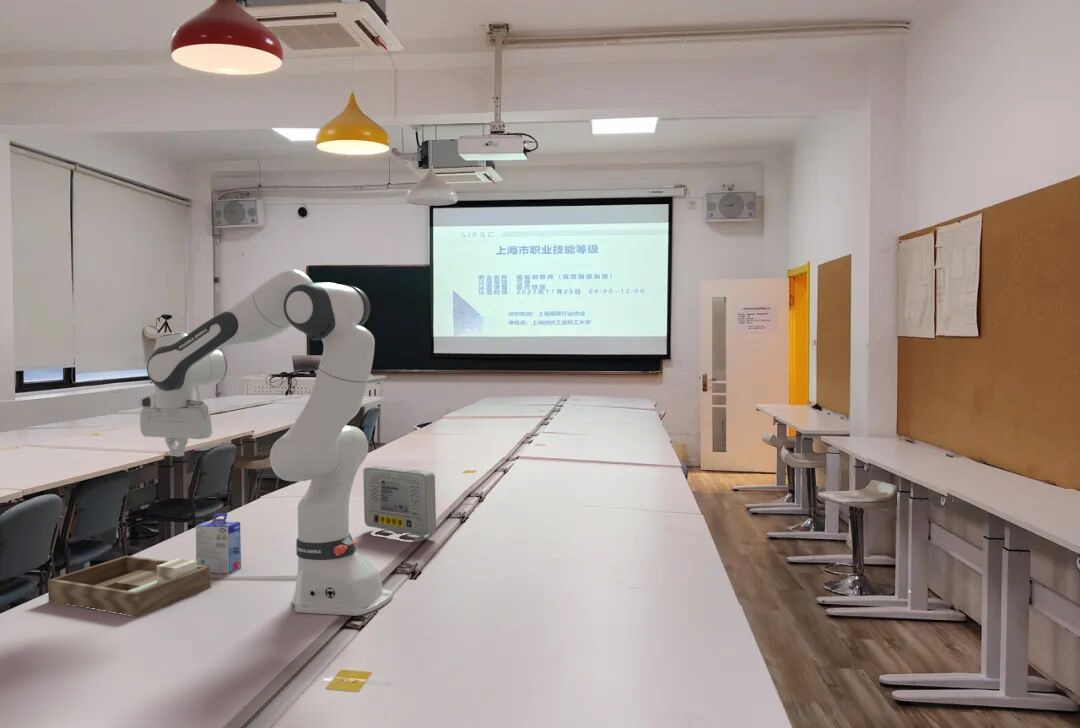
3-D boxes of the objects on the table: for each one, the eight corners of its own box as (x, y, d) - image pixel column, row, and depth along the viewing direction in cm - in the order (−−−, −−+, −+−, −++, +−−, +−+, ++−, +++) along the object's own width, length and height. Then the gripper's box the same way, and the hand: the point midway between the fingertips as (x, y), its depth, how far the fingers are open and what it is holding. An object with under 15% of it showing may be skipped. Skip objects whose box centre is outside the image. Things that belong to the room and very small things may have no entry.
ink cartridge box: (243, 567, 189) (241, 512, 189) (229, 574, 184) (228, 517, 183) (209, 565, 191) (207, 511, 191) (195, 572, 186) (193, 516, 185)
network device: (441, 537, 215) (439, 470, 214) (421, 545, 207) (419, 475, 207) (378, 527, 228) (377, 464, 228) (358, 533, 221) (356, 468, 220)
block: (197, 577, 172) (196, 560, 172) (176, 585, 167) (175, 568, 167) (178, 574, 174) (178, 558, 174) (157, 582, 169) (156, 565, 169)
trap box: (210, 587, 174) (209, 566, 174) (136, 617, 156) (135, 594, 156) (127, 574, 185) (126, 555, 185) (48, 601, 166) (47, 580, 166)
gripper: (217, 399, 177) (219, 455, 177) (156, 398, 184) (158, 452, 185) (196, 401, 171) (198, 459, 171) (134, 400, 178) (136, 456, 179)
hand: (177, 455), depth 178 cm, fingers closed
